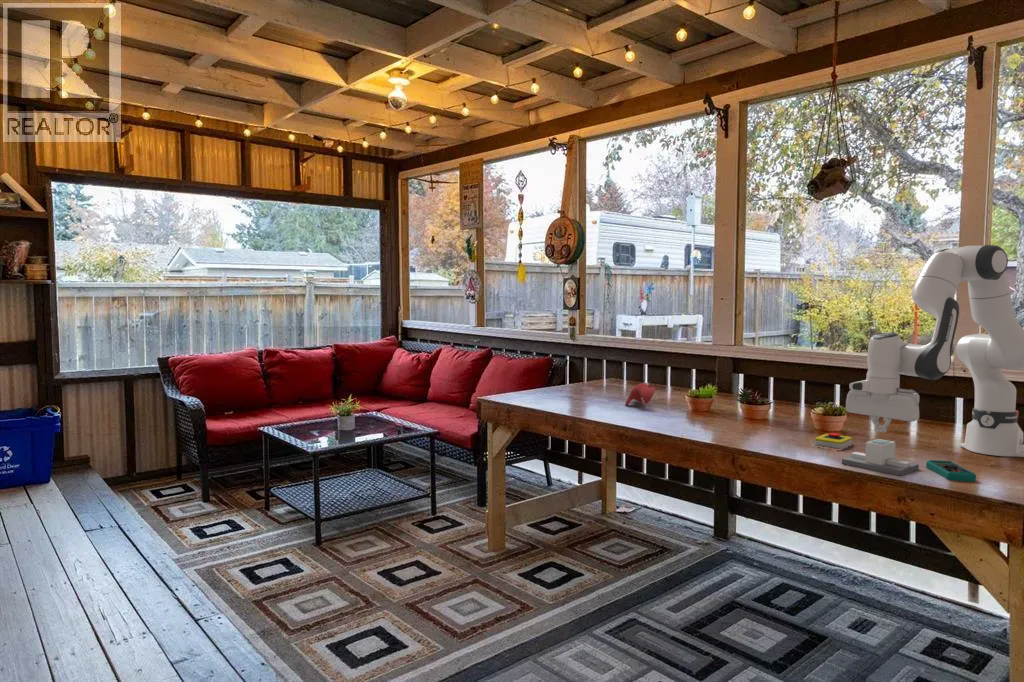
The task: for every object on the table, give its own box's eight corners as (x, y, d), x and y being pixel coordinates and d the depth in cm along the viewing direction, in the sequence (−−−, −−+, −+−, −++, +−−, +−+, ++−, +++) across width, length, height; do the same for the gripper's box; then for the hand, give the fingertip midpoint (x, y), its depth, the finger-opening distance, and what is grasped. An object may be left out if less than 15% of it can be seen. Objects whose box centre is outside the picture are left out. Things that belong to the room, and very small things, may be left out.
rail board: (861, 457, 213) (861, 449, 213) (918, 469, 199) (918, 460, 199) (841, 463, 206) (842, 455, 205) (900, 475, 192) (900, 466, 192)
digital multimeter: (948, 482, 187) (949, 472, 187) (925, 468, 201) (925, 459, 201) (977, 483, 186) (978, 473, 185) (951, 469, 200) (951, 460, 200)
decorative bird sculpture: (641, 420, 298) (664, 396, 297) (626, 406, 297) (649, 382, 296) (630, 409, 326) (651, 387, 325) (616, 396, 325) (637, 374, 325)
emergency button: (854, 433, 232) (839, 439, 221) (854, 445, 232) (839, 452, 222) (827, 429, 238) (811, 435, 228) (826, 441, 239) (810, 448, 228)
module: (877, 457, 207) (878, 438, 206) (894, 461, 203) (895, 441, 202) (865, 461, 202) (865, 441, 201) (882, 465, 198) (882, 444, 197)
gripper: (924, 389, 194) (922, 436, 195) (854, 381, 210) (852, 424, 211) (914, 391, 190) (912, 438, 191) (844, 383, 207) (842, 427, 208)
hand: (880, 431), depth 202 cm, fingers closed
